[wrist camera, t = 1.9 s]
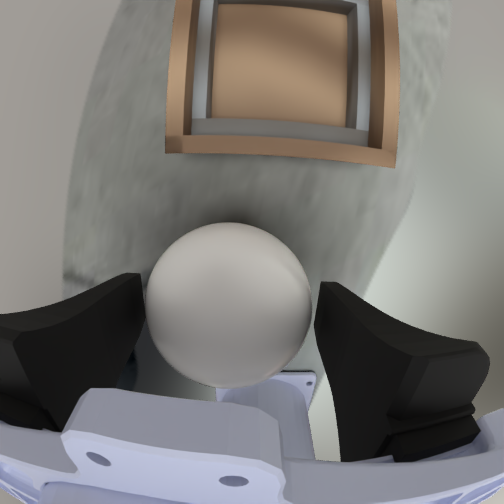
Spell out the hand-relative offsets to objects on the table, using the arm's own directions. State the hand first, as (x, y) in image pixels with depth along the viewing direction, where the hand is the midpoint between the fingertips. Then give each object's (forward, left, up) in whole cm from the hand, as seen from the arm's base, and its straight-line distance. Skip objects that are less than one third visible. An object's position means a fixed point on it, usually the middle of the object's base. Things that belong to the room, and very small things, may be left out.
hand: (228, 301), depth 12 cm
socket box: (+12, -2, -8) cm, 15 cm away
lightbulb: (0, 0, -8) cm, 8 cm away
